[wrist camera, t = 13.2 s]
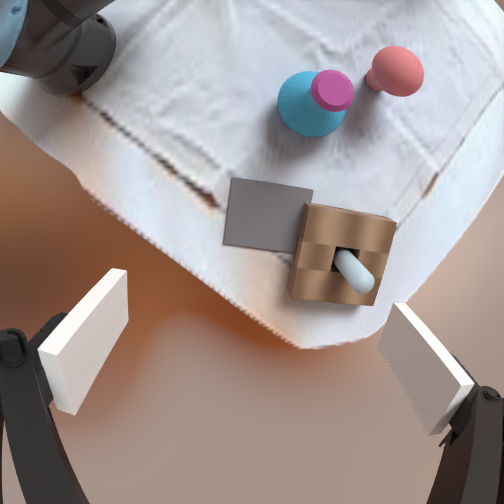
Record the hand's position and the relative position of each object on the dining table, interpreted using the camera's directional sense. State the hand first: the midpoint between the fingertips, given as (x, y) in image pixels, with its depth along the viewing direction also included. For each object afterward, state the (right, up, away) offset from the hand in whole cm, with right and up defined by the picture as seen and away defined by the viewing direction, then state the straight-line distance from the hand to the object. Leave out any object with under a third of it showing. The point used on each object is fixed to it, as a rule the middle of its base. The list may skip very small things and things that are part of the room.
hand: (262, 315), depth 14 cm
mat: (+2, +8, +32) cm, 33 cm away
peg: (+13, +3, +34) cm, 36 cm away
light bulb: (+18, +29, +25) cm, 43 cm away
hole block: (+13, +3, +34) cm, 36 cm away
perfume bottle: (+7, +24, +27) cm, 37 cm away
